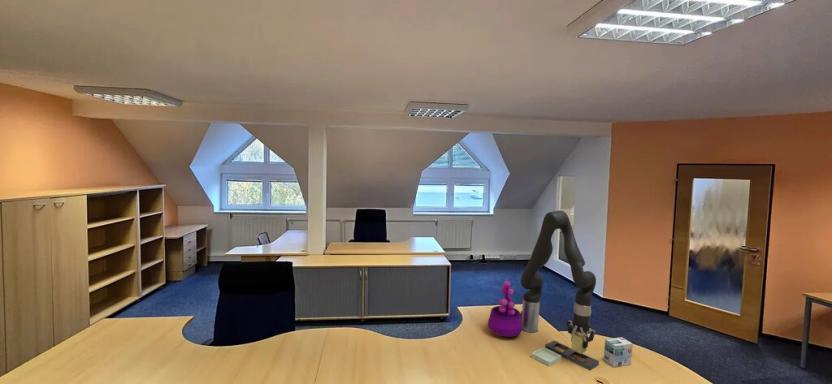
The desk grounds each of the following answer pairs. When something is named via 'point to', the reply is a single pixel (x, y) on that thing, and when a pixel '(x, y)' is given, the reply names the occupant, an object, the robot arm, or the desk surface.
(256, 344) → the desk surface
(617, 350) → the light bulb box
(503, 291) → the decorative plant
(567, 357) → the rail
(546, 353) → the parts tray
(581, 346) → the tan rectangular block
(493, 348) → the desk surface
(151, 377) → the desk surface
